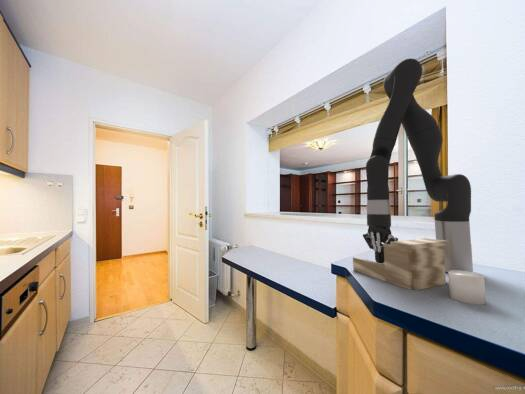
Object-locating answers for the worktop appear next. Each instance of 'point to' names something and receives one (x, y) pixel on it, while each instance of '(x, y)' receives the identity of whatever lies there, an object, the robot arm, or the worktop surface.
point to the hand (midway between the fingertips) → (379, 262)
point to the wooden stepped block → (408, 264)
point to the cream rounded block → (467, 287)
